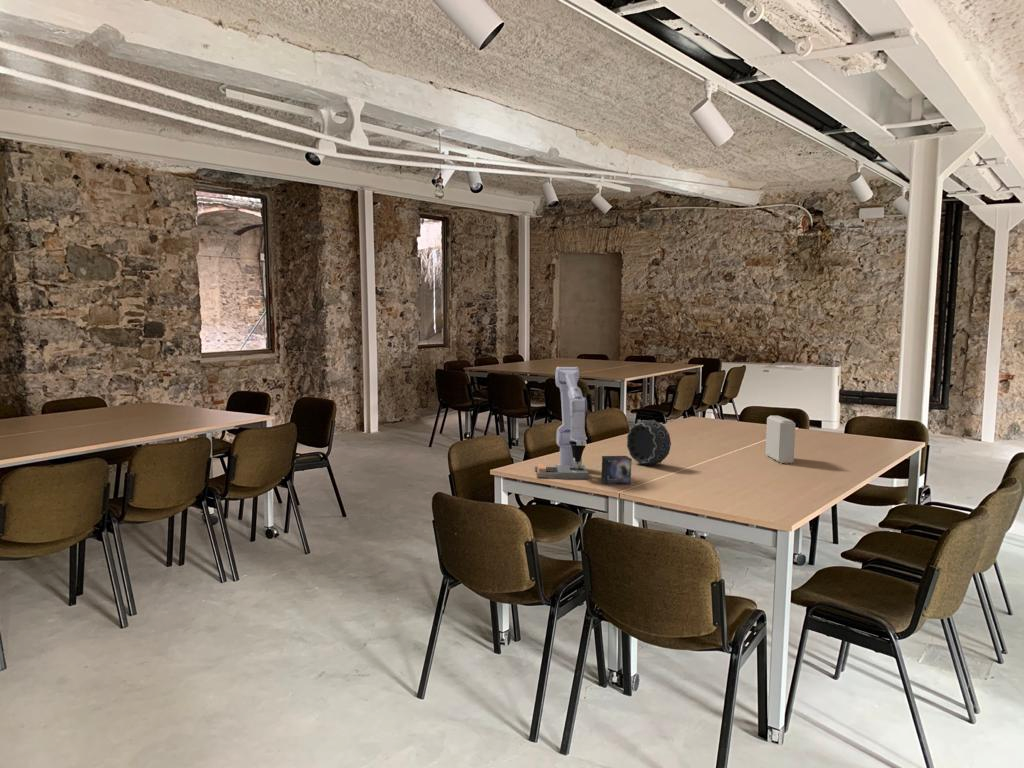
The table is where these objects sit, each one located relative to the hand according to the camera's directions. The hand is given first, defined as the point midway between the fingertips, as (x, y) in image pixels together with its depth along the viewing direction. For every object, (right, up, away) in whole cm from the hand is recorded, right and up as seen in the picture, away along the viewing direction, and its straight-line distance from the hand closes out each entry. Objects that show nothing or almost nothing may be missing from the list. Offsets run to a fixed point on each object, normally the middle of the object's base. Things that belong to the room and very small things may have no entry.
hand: (576, 459), depth 311 cm
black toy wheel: (+34, -5, +26) cm, 43 cm away
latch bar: (-15, -6, 0) cm, 16 cm away
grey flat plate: (-7, -6, 0) cm, 9 cm away
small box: (+14, -8, -14) cm, 22 cm away
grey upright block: (+100, -5, +43) cm, 109 cm away
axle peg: (0, -6, 0) cm, 6 cm away
